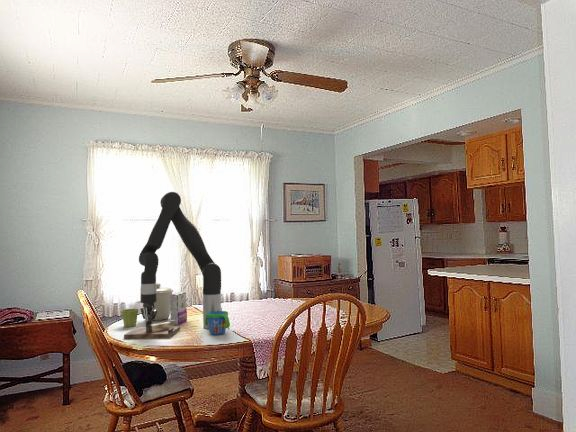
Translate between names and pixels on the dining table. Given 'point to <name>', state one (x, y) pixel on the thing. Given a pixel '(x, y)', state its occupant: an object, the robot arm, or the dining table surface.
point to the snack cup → (217, 322)
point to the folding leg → (160, 326)
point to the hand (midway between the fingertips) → (148, 328)
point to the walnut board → (151, 333)
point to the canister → (162, 303)
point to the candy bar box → (178, 307)
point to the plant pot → (129, 317)
